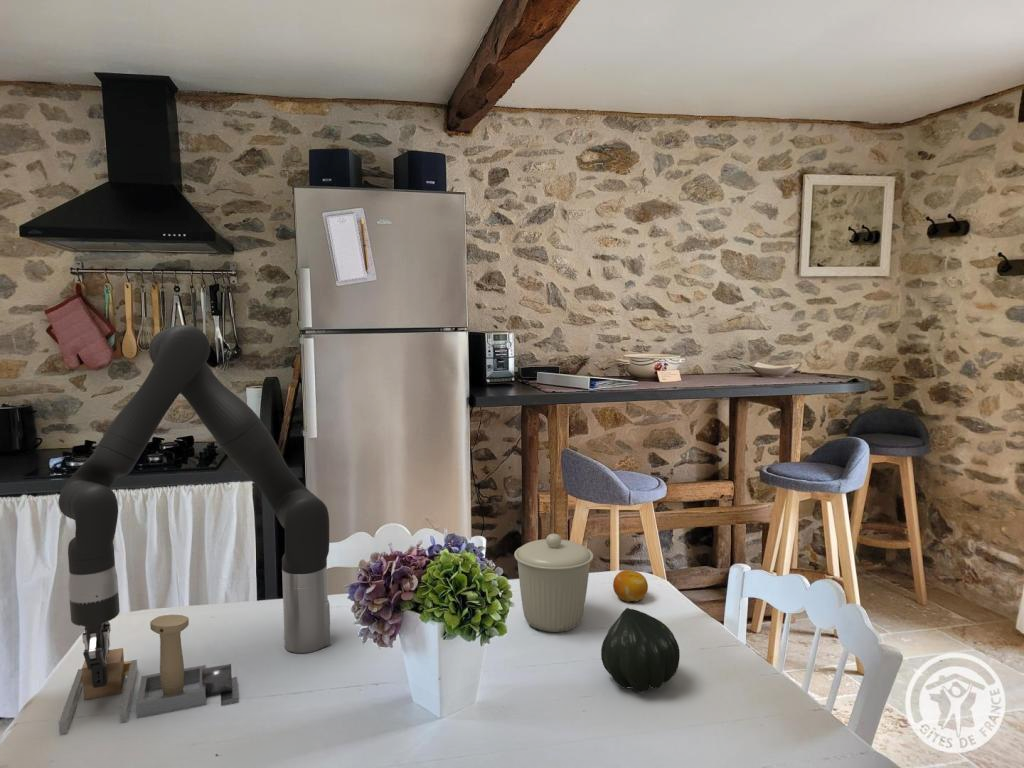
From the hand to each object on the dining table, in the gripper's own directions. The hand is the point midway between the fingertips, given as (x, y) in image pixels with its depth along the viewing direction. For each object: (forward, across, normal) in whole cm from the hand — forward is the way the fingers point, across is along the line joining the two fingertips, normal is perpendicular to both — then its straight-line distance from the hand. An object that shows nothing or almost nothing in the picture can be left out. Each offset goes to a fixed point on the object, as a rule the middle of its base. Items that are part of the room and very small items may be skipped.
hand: (100, 684), depth 128 cm
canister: (+6, +1, -91) cm, 91 cm away
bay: (+5, +1, 0) cm, 5 cm away
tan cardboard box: (+4, +6, 0) cm, 7 cm away
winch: (+5, -3, -15) cm, 16 cm away
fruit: (+6, +6, -115) cm, 116 cm away
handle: (+4, -3, -12) cm, 13 cm away
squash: (+6, -29, -95) cm, 100 cm away
